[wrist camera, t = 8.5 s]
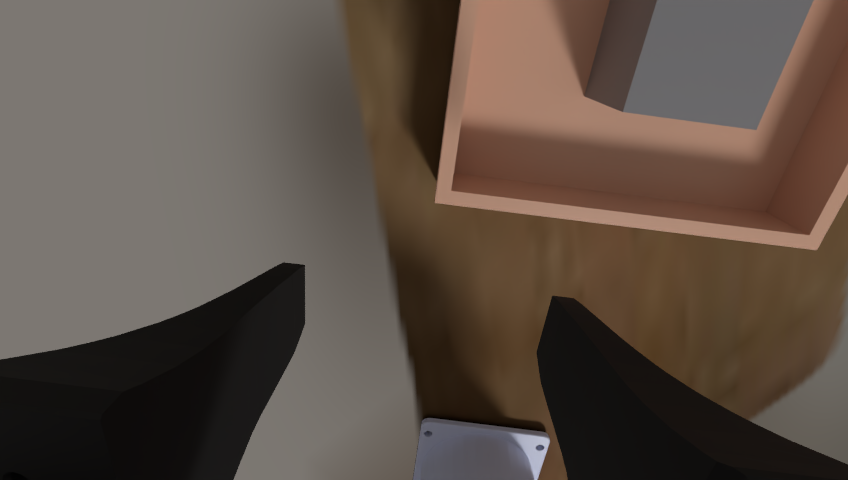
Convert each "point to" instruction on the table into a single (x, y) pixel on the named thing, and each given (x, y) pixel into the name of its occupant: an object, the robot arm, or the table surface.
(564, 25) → the terracotta bin
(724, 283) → the table surface
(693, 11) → the grey block
